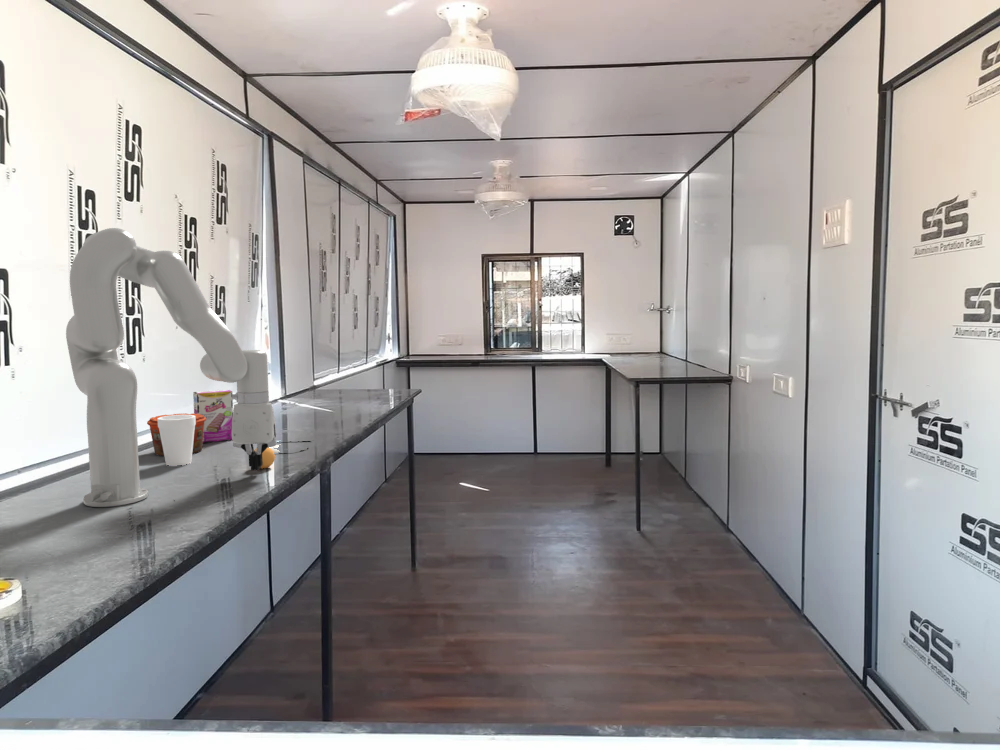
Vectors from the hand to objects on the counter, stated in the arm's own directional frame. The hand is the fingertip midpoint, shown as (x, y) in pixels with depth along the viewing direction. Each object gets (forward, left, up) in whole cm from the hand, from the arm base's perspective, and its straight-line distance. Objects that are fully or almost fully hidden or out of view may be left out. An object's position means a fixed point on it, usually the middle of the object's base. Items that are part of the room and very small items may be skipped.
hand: (256, 468), depth 172 cm
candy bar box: (+49, +26, -2) cm, 55 cm away
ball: (+8, 0, +1) cm, 8 cm away
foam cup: (+16, +25, -2) cm, 30 cm away
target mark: (+33, 0, -2) cm, 33 cm away
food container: (+32, +31, -2) cm, 45 cm away
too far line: (+45, 0, -2) cm, 45 cm away
